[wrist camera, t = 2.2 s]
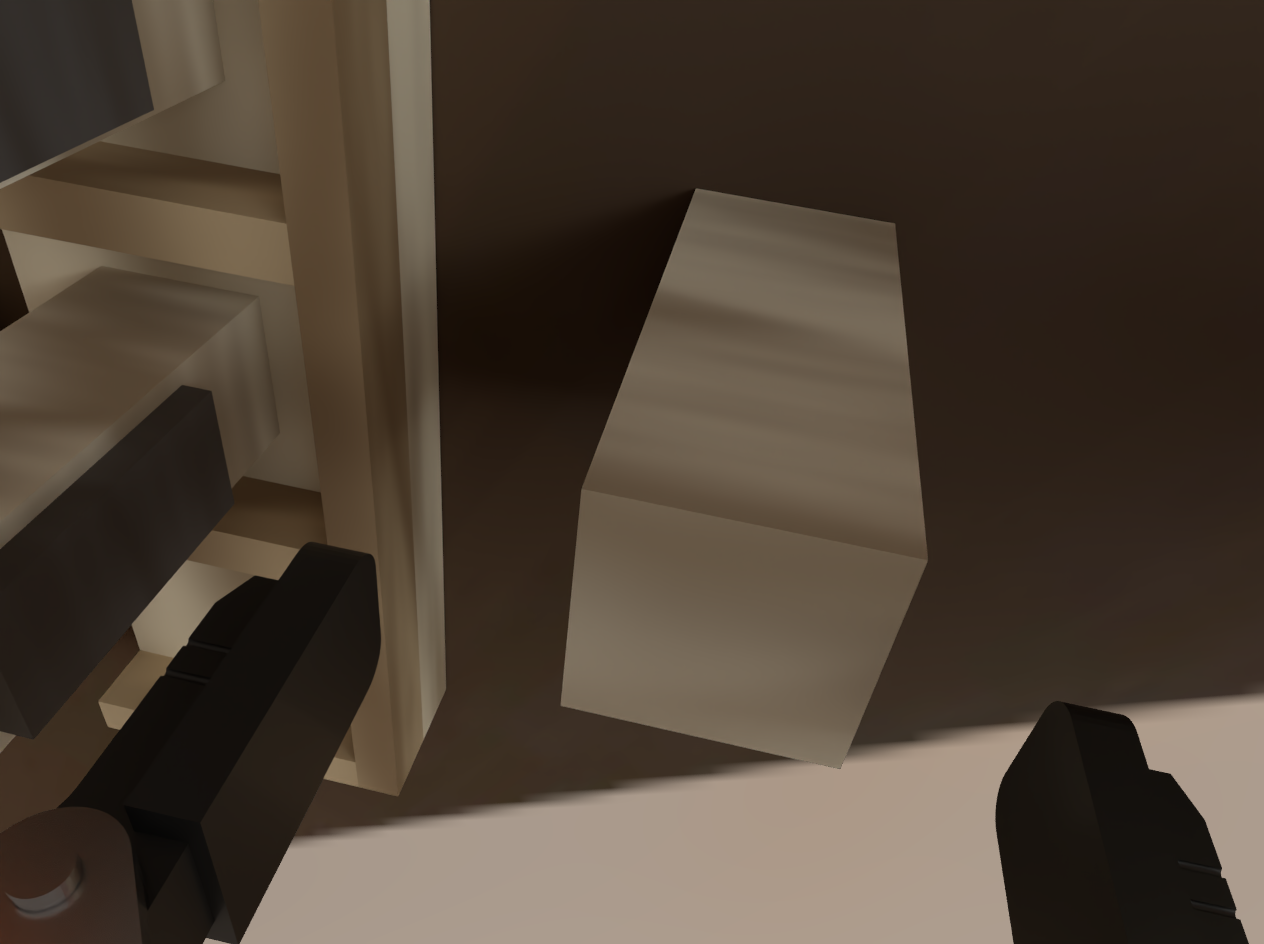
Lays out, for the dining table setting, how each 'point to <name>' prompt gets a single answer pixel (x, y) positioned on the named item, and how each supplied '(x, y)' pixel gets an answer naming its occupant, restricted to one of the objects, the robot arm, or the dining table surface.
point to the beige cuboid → (754, 489)
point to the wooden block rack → (217, 338)
